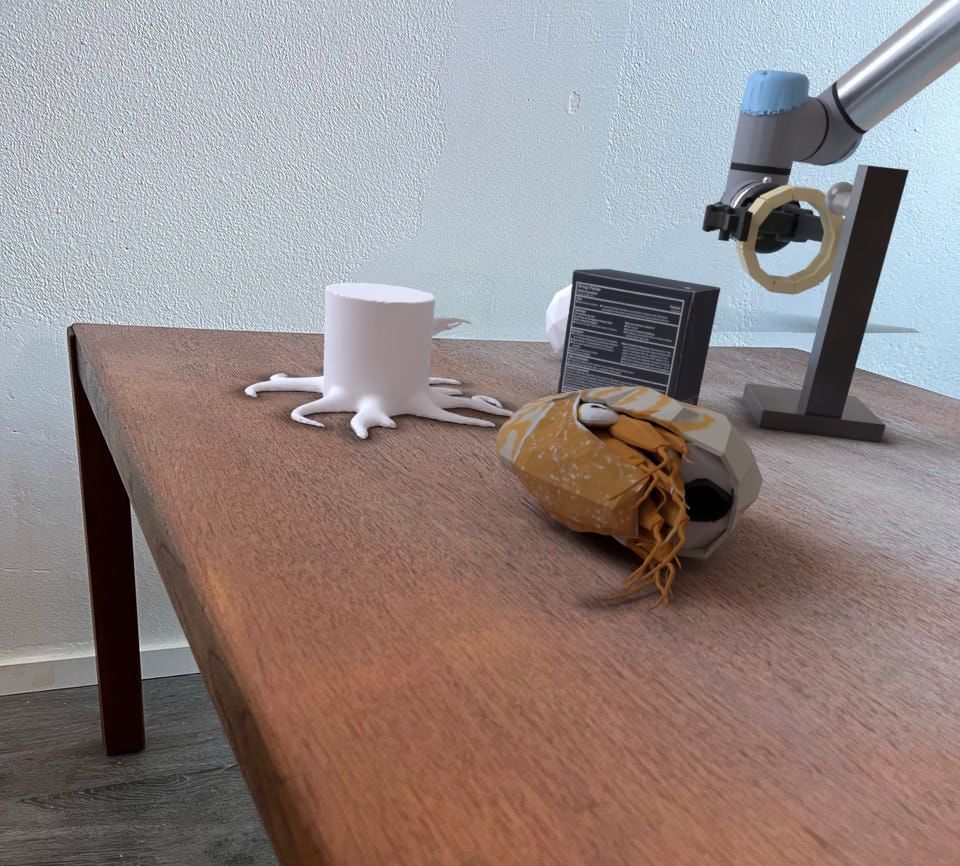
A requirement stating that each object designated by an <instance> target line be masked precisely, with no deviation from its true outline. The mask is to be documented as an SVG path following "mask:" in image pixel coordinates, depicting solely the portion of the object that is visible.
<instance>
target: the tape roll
mask: <svg viewBox="0 0 960 866" xmlns="http://www.w3.org/2000/svg"><path fill="white" fill-rule="evenodd" d="M825 196H826V193H824V192H823V190H821V189H817V188H813V187H809V186H808V187H807V186H800V185H799V186H798V185H792V184H791V185H790V184H788V185H785V186H780V187H778V188H776V189H774V190H772V191H769V192H767V193H765V194H763V195H761V196H760V198H757V199H756V200H755V202H754V203H753V204H752V206H751V207H750V208H749V209H748V211H750V212H752V213H753V215H752V220H751V225H750V229H749V234H748V239H747V242H743V241H739V240H737V241H736V242H735V246H736V247H735V250H736V252H737V255H738V258H739V261H740V265H741V267H742V270H743V272H744V273H746V274H747V275H748V276H749V277H751V279H753V280H754V281H755V282H757V283H758V284H759V285H760V286H762V288H764V289H765V290H766V291H767V292H770V293H774V294H785V295H792V296H794V295H799V294H801V293H803V292H805V291H808V290H811V289H813V288H815V287H817V286H820V284H821V283H824V281H825V280H826V278H827V277H828V276H829V275H831V271H832V267H833V263H834V259H835V255H836V251H837V247H838V243H839V239H840V235H841V231H842V227H843V223H844V220H843V219H844V218H843V217H844V216H843V215H835V214H833V213H831V212H830V211H829V210H828V209H827V207H826V205H825ZM792 200H796V201H799V202H806V203H807V204H808V205H809V206H810V207H812V208H813V210H815V211H816V212H818V216H820V219H821V222H822V226H823V229H824V234H823V239H822V242H820V243H821V244H820V247H819V251H818V253H817V254H816V255H815V256H814V258H813V259H812V260H811V262H810V263H808V265H807V266H806V268H804V269H801V270H798V271H797V272H794V273H792V274H789V275H788V276H783V275H774V274H768V273H767V272H766V271H765V270H764V269H762V268H761V266H760V265H761V264H760V262H759V259H758V256H757V253H756V252H755V249H754V247H755V243H756V238H757V233H758V228H759V226H760V225H761V224H762V222H763V221H764V220H765V219H766V217H767V216H768V215H769V213H770V212H771V211H772V210H773V209H775V208H777V207H779V206H781V205H783V204H786V203H788V202H790V201H792Z"/></svg>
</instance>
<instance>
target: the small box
mask: <svg viewBox="0 0 960 866" xmlns="http://www.w3.org/2000/svg"><path fill="white" fill-rule="evenodd" d="M571 284H572V290H571V299H570V306H569V314H568V320H567V327H566V335H565V342H564V350H563V357H561V358H562V359H561V364H560V373H559V378H558V386H557V391H556V394H561V393H567V392H573V391H579V390H586V389H592V388H601V387H647V388H651V389H653V390H655V391H657V392H659V393H662V394H664V395H666V396H668V397H670V398H672V399H675V400H677V401H680V402H683V403H687V404H691V405H695V406H698V402H699V397H700V393H701V388H702V382H703V377H704V373H705V367H706V362H707V358H708V354H709V353H708V352H709V349H710V348H709V347H710V342H711V337H712V334H713V327H714V322H715V317H716V312H717V309H718V308H717V307H718V303H719V297H720V293H721V289H722V288H721V287H718V286H714V285H709V284H708V285H706V284H703V283H702V284H700V283H695V282H689V281H683V280H677V279H672V278H665V277H660V276H653V275H648V274H641V273H636V272H634V273H633V272H628V271H623V270H617V269H612V268H591V269H589V268H588V269H574V270H573V272H572V279H571Z"/></svg>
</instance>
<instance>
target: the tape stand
mask: <svg viewBox="0 0 960 866" xmlns="http://www.w3.org/2000/svg"><path fill="white" fill-rule="evenodd" d="M909 172H910V169H904V168H896V167H886V166H878V165H870V164H860V163H859V164H857V168H856V172H855V176H854V180H853V184H852V183H850V182H848V181H839V182H836V183H834V184H832V185H831V186H830V187H829V189H828V190H827V191H826V193H825V195H826V196H825V205H826V207H827V209H828V210H829V211H830V212H831V213H833V214H835V215H842V217H844V218H843V219H844V223H843V227H842V231H841V235H840V239H839V243H838V247H837V251H836V255H835V259H834V263H833V267H832V271H831V273H830V274H829V275H830V276H829V279H828V284H827V288H826V292H825V295H824V300H823V302H822V303H823V305H822V307H821V312H820V316H819V320H818V324H817V328H816V332H815V336H814V339H813V344H812V348H811V351H810V355H809V360H808V364H807V368H806V372H805V375H804V379H803V384H802V387H801V389H798V388H791V387H781V386H774V385H766V384H758V383H749V382H746V383H745V384H744V389H743V393H742V398H741V399H742V401H743V403H744V404H745V406H746V408H747V410H748V411H749V413H750V415H751V416H752V418H753V419H754V422H756V424H757V426H758V427H759V428H760V429H767V430H775V431H782V432H783V431H784V432H790V433H791V432H793V433H801V434H807V435H808V434H809V435H817V436H824V437H834V438H840V439H849V440H857V441H866V442H874V443H881V441H882V439H883V435H884V432H885V428H886V424H885V423H884V422H883V421H882V420H881V419H880V418H879V417H878V416H877V415H876V414H874V412H872V411H871V409H869V408H868V406H866V404H864V403H863V402H862V401H861V400H860V399H859V398H858V396H855V395H849V392H850V388H851V384H852V381H853V378H854V374H855V369H856V366H857V362H858V358H859V356H860V355H859V354H860V353H861V352H860V351H861V347H862V344H863V340H864V337H865V333H866V330H867V327H868V326H867V325H868V323H869V322H868V321H869V320H870V319H869V318H870V314H871V311H872V307H873V304H874V300H875V296H876V293H877V289H878V285H879V282H880V278H881V275H882V274H881V273H882V270H883V266H884V263H885V260H886V255H887V253H888V248H889V244H890V242H891V237H892V234H893V230H894V226H895V223H896V219H897V216H898V212H899V209H900V204H901V201H902V199H903V198H902V197H903V194H904V190H905V186H906V183H907V179H908V175H909Z"/></svg>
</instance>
